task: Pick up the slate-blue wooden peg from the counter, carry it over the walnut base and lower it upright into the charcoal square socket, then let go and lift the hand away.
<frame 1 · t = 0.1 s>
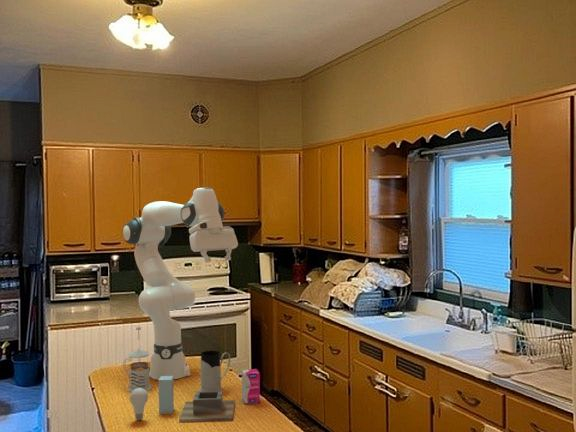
hand: (218, 261, 223), 52 cm above the table, tool tilted 20°, fingers open, 8 cm apart
lightbulb: (139, 420, 200), on the table
peg: (166, 411, 208), on the table
supplement box: (251, 402, 217), on the table
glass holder: (216, 389, 233), on the table
socket: (208, 412, 207), on the table
french press: (137, 388, 235), on the table
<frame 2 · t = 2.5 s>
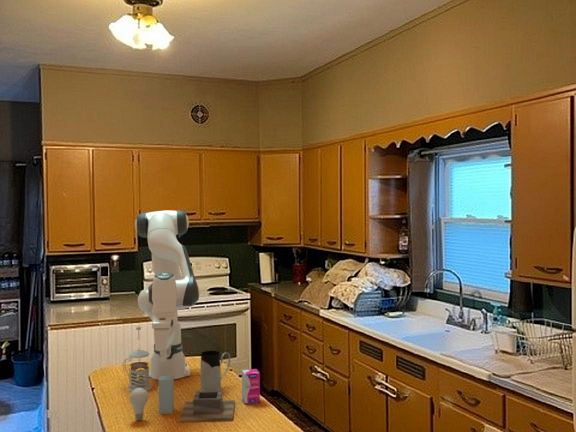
hand: (165, 358, 207), 19 cm above the table, tool pointing down, fingers open, 8 cm apart
nothing on the table moved.
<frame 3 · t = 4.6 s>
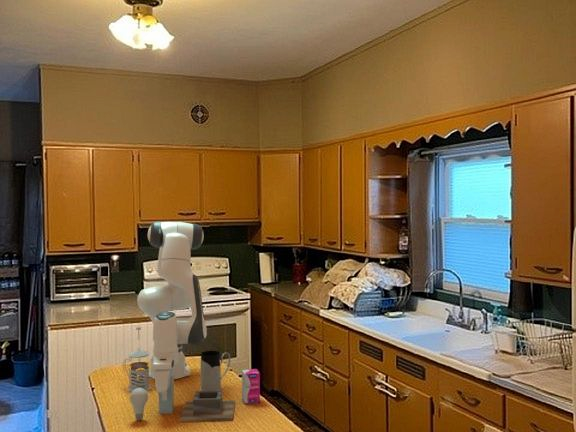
hand: (166, 397, 208), 5 cm above the table, tool pointing down, fingers closed on peg, 4 cm apart
peg: (166, 411, 208), on the table, touching gripper
everything else where it was.
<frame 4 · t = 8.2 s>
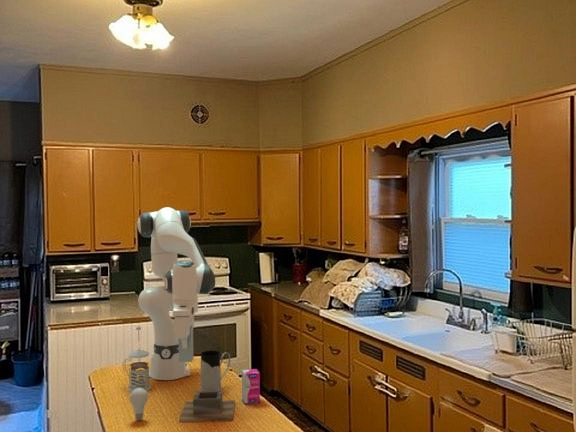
hand: (186, 346, 207), 24 cm above the table, tool pointing down, fingers closed on peg, 4 cm apart
peg: (186, 360, 207), point 18 cm above the table, touching gripper
everything else where it was.
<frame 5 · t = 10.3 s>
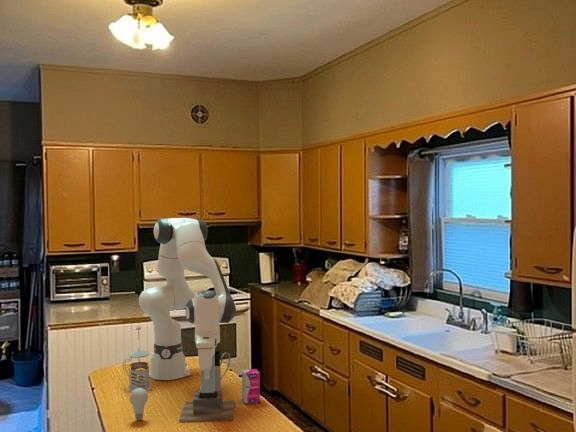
hand: (207, 376, 207), 13 cm above the table, tool pointing down, fingers closed on peg, 4 cm apart
peg: (208, 390, 207), point 8 cm above the table, touching gripper
everything else where it was.
when the fingers open (8 cm above the table, at t = 12.1 s): peg drops 1 cm, resting on socket.
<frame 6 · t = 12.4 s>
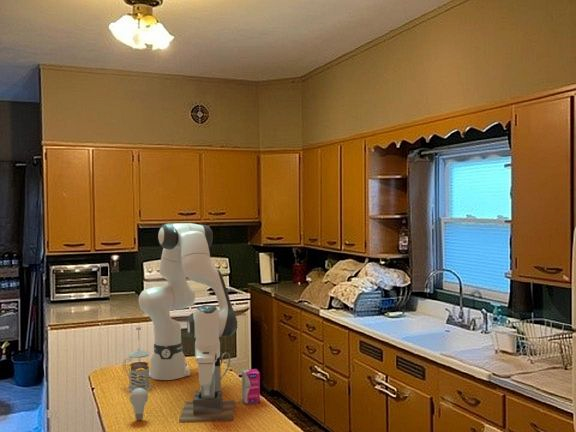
hand: (207, 390, 207), 8 cm above the table, tool pointing down, fingers open, 7 cm apart
peg: (208, 409, 207), point 1 cm above the table, touching socket
everything else where it was.
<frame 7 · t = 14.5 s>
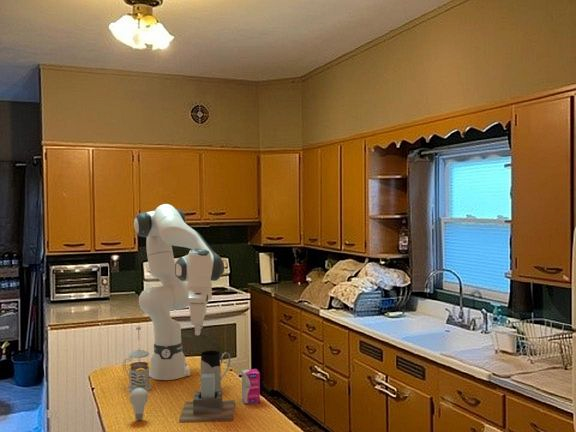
hand: (199, 331, 213), 27 cm above the table, tool pointing down, fingers open, 8 cm apart
nothing on the table moved.
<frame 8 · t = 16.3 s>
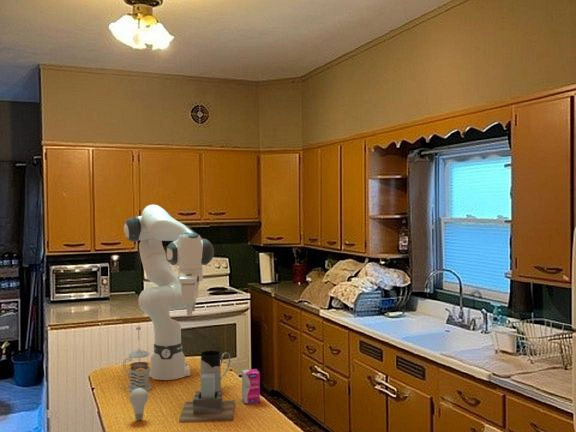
hand: (191, 313, 218), 33 cm above the table, tool pointing down, fingers open, 8 cm apart
nothing on the table moved.
at the end: peg 0.1 cm off-centre on the socket, point 1.0 cm above the socket's base; peg tilted 0°; the gripper is holding nothing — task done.
